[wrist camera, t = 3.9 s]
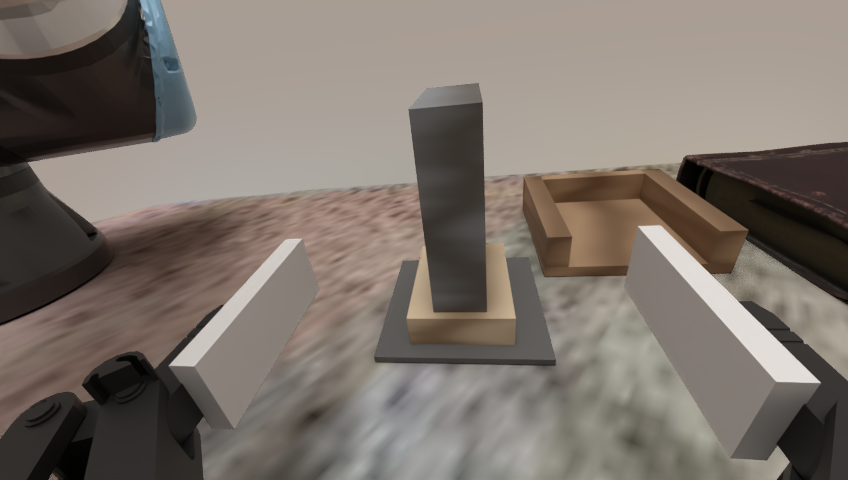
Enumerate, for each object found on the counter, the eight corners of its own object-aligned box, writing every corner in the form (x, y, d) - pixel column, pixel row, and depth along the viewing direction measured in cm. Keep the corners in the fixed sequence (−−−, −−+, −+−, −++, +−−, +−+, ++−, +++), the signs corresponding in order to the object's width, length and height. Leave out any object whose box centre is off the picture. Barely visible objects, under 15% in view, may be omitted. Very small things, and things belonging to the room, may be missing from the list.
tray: (544, 276, 25) (547, 237, 24) (522, 207, 35) (523, 177, 34) (731, 272, 23) (748, 230, 22) (651, 201, 34) (658, 168, 32)
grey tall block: (410, 344, 20) (370, 115, 14) (425, 267, 27) (403, 90, 21) (515, 344, 19) (522, 100, 13) (503, 265, 26) (504, 79, 20)
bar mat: (375, 361, 20) (374, 357, 20) (403, 264, 29) (402, 260, 28) (555, 364, 18) (555, 359, 18) (527, 261, 27) (528, 257, 27)
